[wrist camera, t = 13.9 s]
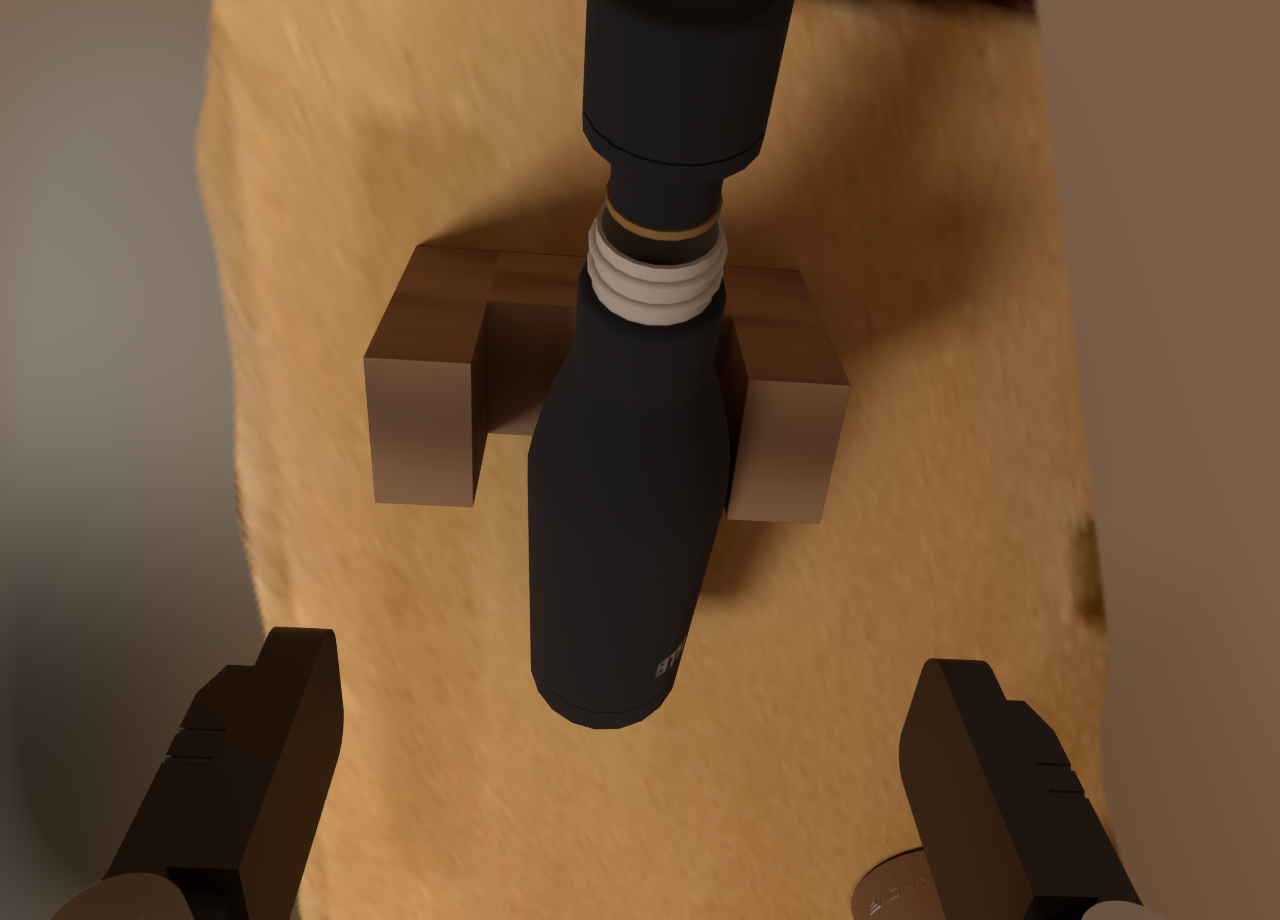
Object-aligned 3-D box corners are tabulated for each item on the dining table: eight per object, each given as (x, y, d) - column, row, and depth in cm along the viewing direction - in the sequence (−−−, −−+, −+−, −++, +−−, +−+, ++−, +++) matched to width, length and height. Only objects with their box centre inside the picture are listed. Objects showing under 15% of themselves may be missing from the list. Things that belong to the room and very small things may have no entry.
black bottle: (542, 585, 44) (546, -125, 20) (682, 602, 44) (858, -83, 20) (518, 720, 40) (486, 48, 16) (672, 740, 40) (873, 99, 16)
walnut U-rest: (777, 389, 38) (819, 523, 31) (421, 369, 37) (375, 502, 30) (798, 271, 36) (850, 385, 28) (416, 246, 35) (363, 357, 27)
